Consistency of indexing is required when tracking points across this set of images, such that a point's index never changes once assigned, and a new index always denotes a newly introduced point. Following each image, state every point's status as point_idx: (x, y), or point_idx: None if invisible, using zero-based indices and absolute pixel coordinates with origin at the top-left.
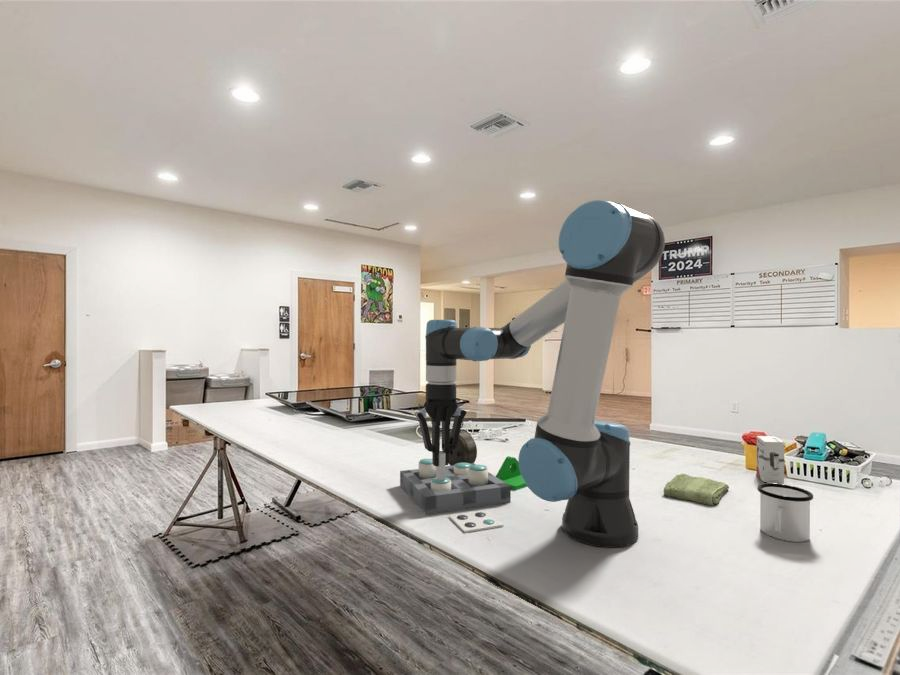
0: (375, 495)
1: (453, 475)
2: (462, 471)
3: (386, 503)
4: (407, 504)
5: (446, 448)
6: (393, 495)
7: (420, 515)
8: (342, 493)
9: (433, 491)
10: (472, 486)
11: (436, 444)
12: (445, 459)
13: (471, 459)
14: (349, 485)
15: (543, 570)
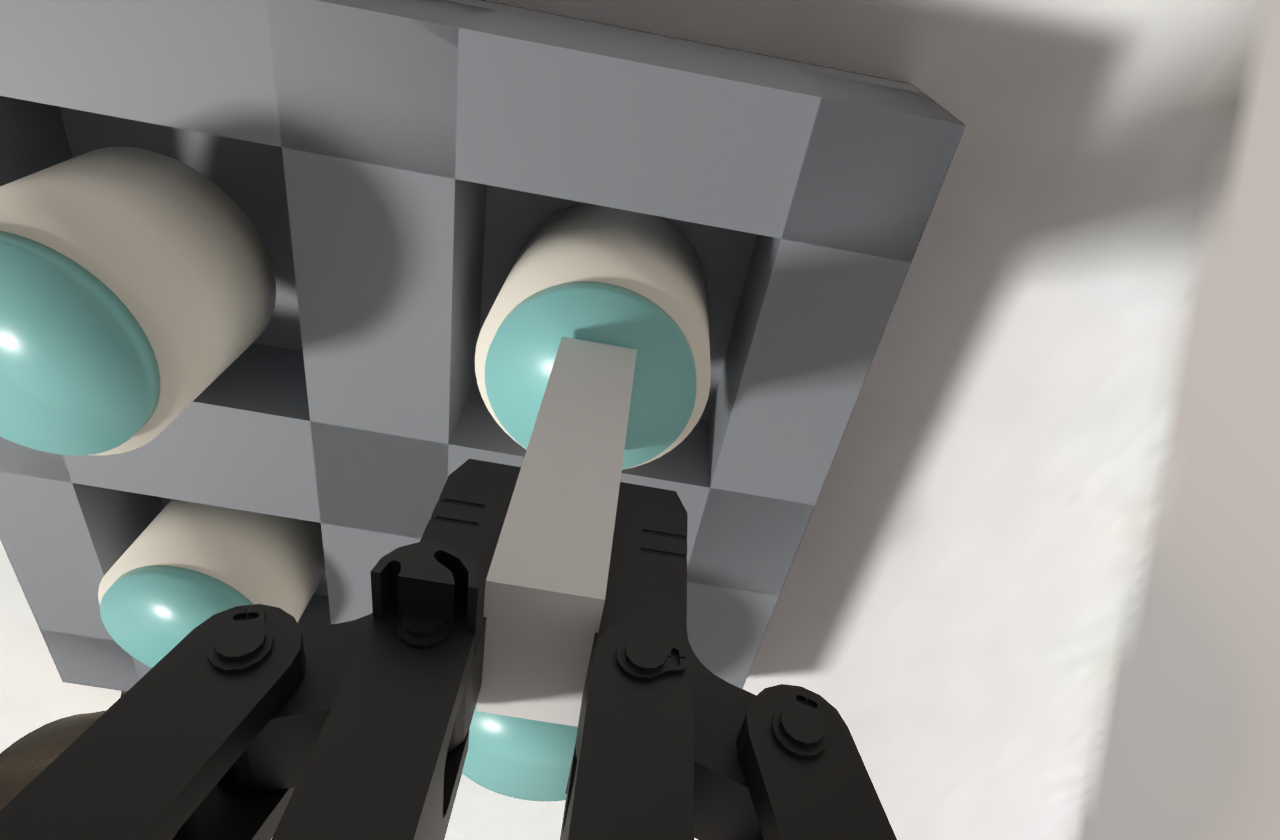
0: (954, 621)
1: (345, 534)
2: (232, 552)
3: (999, 473)
4: (882, 380)
5: (432, 660)
6: (851, 570)
7: (964, 86)
8: (1094, 727)
9: (706, 315)
10: (250, 222)
11: (657, 795)
12: (492, 523)
13: (65, 734)
14: (967, 795)
15: None
